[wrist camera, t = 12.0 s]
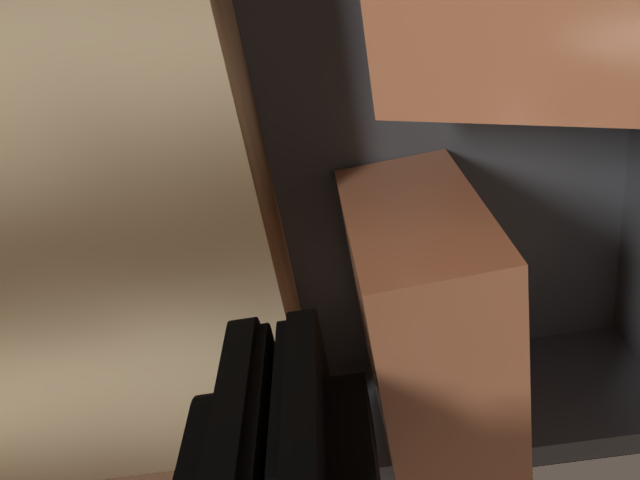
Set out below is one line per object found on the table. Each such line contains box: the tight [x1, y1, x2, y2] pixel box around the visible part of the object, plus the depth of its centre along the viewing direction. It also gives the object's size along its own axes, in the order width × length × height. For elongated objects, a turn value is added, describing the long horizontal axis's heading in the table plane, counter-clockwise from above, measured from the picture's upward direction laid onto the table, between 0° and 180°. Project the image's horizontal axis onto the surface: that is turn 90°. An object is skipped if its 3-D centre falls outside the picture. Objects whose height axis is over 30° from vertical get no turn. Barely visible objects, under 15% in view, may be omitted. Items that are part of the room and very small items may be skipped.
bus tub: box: [232, 0, 640, 480], centre depth 12 cm, size 14×8×4 cm, turn 10°
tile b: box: [334, 149, 533, 480], centre depth 12 cm, size 5×5×2 cm
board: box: [0, 0, 301, 480], centre depth 13 cm, size 13×9×3 cm
